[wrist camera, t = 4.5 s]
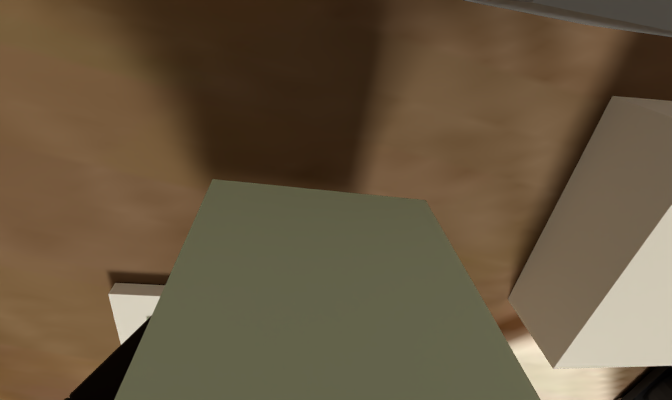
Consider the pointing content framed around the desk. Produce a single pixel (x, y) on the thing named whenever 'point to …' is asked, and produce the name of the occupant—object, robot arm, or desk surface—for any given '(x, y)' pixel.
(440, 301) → the sage cube
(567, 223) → the plinth
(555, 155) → the desk surface
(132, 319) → the card
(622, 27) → the slate cube
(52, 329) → the desk surface
